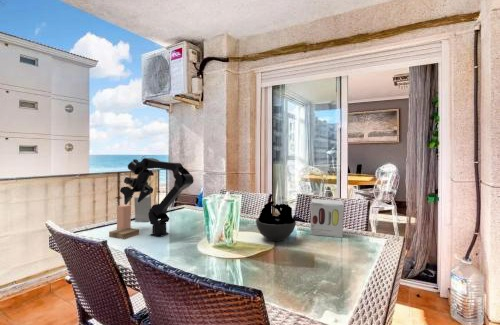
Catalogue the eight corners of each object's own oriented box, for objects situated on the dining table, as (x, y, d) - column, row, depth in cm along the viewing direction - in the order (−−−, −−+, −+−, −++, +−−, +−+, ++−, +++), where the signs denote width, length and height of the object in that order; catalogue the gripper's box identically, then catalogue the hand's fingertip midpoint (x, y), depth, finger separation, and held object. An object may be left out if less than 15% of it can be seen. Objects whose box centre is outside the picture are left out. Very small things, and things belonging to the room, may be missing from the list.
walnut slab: (139, 235, 148) (139, 229, 147) (123, 240, 138) (124, 234, 138) (124, 232, 151) (124, 227, 151) (109, 237, 142) (109, 231, 142)
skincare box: (151, 219, 180) (152, 195, 180) (146, 222, 173) (147, 196, 173) (139, 219, 181) (139, 194, 181) (133, 221, 174) (134, 196, 174)
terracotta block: (130, 228, 160) (130, 205, 159) (123, 230, 155) (123, 206, 155) (124, 227, 162) (124, 204, 161) (116, 229, 157) (117, 205, 157)
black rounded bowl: (294, 247, 130) (295, 207, 130) (252, 244, 134) (252, 205, 134) (296, 236, 150) (296, 201, 149) (259, 233, 154) (259, 199, 153)
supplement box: (310, 235, 152) (310, 202, 152) (310, 229, 165) (311, 198, 165) (343, 237, 148) (344, 203, 148) (341, 231, 161) (342, 200, 161)
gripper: (145, 170, 163) (135, 193, 166) (118, 172, 146) (108, 197, 149) (158, 180, 159) (148, 203, 163) (132, 183, 142) (121, 208, 146)
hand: (131, 203), depth 155 cm, fingers open, 9 cm apart
